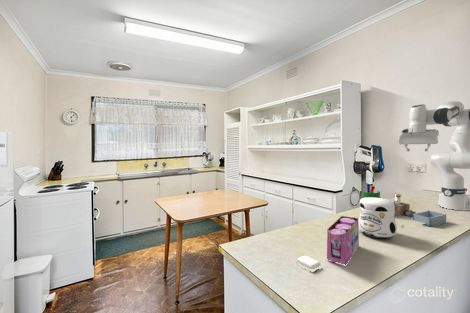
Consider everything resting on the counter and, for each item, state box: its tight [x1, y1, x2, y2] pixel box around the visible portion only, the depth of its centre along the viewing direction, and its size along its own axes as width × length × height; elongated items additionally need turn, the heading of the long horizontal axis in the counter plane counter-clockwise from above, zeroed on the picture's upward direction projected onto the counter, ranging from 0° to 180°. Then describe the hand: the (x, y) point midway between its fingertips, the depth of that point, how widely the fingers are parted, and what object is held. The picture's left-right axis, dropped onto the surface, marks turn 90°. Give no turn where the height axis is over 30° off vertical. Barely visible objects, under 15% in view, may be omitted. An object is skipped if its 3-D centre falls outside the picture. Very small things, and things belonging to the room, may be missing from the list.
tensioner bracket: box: [393, 200, 417, 219], centre depth 149 cm, size 12×16×8 cm
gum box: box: [326, 215, 360, 266], centre depth 102 cm, size 24×8×14 cm, turn 140°
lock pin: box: [393, 193, 402, 205], centre depth 152 cm, size 4×4×12 cm
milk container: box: [358, 197, 398, 239], centre depth 122 cm, size 17×17×18 cm
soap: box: [295, 255, 322, 269], centre depth 94 cm, size 9×7×3 cm
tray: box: [412, 210, 447, 228], centre depth 136 cm, size 15×9×5 cm, turn 112°
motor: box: [361, 185, 381, 199], centre depth 153 cm, size 10×9×20 cm
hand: (417, 151), depth 150 cm, fingers open, 8 cm apart
